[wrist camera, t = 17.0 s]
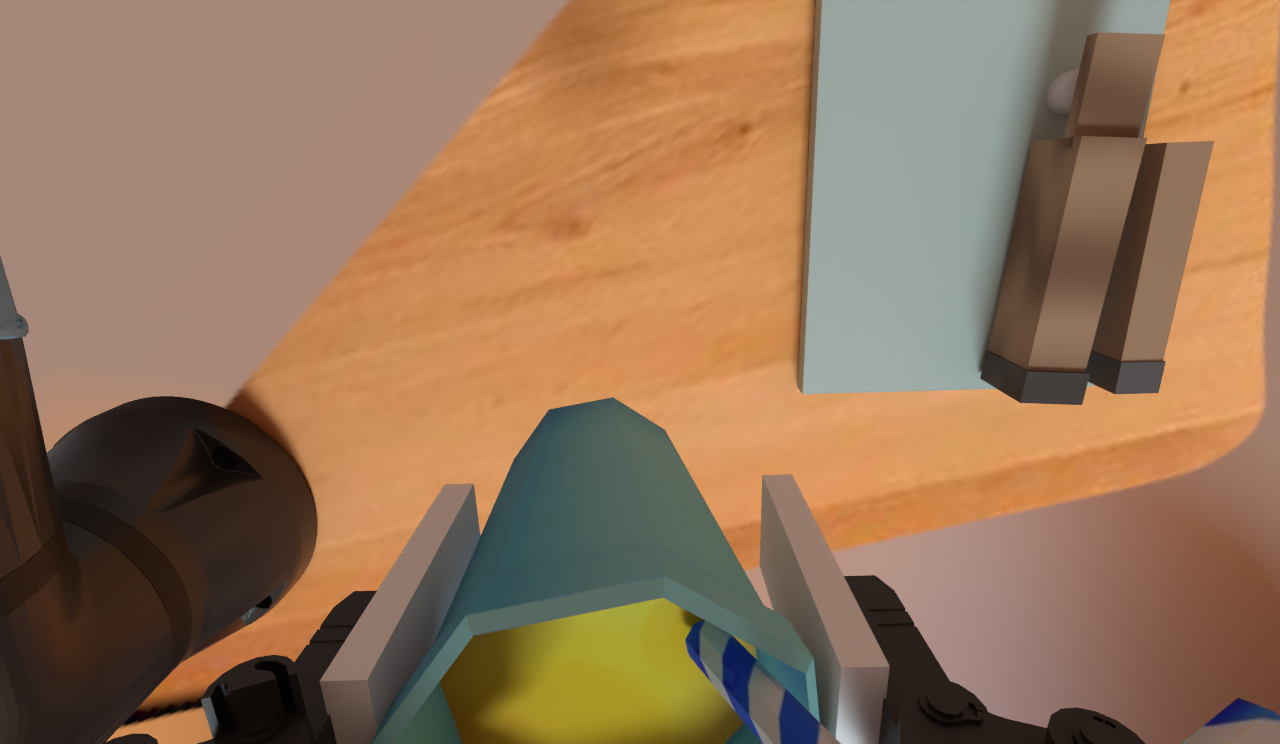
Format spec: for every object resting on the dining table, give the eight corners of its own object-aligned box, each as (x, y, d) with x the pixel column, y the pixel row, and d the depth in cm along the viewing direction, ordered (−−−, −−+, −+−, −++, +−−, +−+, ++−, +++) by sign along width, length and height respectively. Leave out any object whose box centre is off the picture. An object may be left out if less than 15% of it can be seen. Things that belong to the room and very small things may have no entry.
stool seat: (797, 387, 35) (820, 418, 31) (816, -8, 29) (847, -43, 25) (1086, 379, 35) (1154, 410, 30) (1165, -22, 29) (1263, -60, 24)
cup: (747, 238, 18) (1341, 501, 4) (856, 436, 21) (1466, 1037, 6) (367, 480, 19) (-202, 1321, 5) (513, 639, 22) (389, 1505, 8)
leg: (1049, 47, 29) (1107, 28, 25) (1114, 49, 29) (1181, 30, 25) (980, 378, 34) (1020, 402, 30) (1034, 380, 34) (1081, 404, 30)
